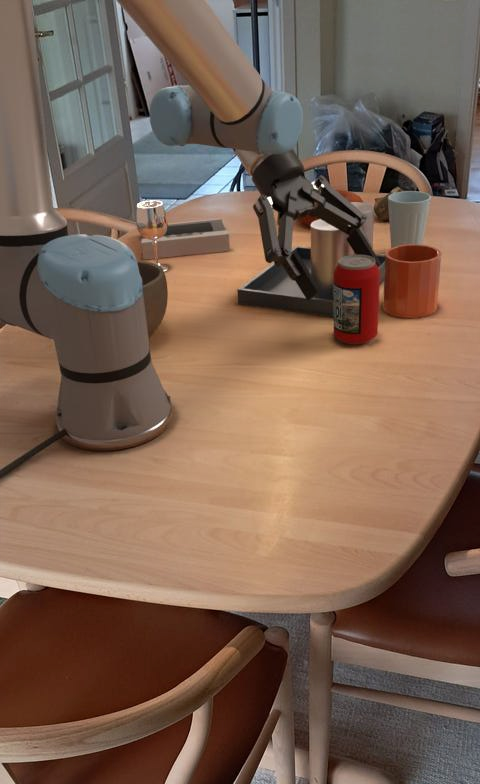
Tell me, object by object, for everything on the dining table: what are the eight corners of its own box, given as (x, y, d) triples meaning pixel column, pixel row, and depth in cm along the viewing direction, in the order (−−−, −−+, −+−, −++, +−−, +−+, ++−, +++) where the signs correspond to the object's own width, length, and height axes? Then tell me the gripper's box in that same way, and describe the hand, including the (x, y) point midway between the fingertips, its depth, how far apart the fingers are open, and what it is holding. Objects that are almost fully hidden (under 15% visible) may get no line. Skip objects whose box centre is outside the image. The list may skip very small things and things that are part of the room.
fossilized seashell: (422, 198, 177) (375, 207, 179) (420, 175, 171) (371, 184, 174) (425, 226, 174) (377, 234, 177) (422, 203, 168) (372, 212, 171)
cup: (435, 255, 155) (439, 197, 149) (400, 263, 153) (403, 205, 147) (412, 244, 161) (415, 188, 155) (378, 252, 159) (380, 195, 153)
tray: (344, 319, 134) (345, 303, 132) (238, 304, 142) (237, 289, 140) (393, 270, 150) (394, 255, 149) (295, 259, 158) (295, 245, 157)
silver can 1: (343, 305, 137) (344, 232, 130) (304, 300, 140) (303, 228, 133) (359, 290, 142) (360, 219, 135) (321, 285, 145) (320, 215, 138)
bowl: (119, 307, 144) (110, 249, 138) (195, 328, 135) (189, 267, 129) (42, 342, 134) (29, 282, 128) (118, 368, 124) (108, 304, 118)
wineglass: (136, 272, 158) (127, 207, 151) (153, 262, 162) (145, 198, 155) (162, 275, 156) (154, 209, 149) (178, 265, 160) (171, 201, 153)
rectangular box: (141, 242, 161) (138, 212, 174) (144, 265, 164) (141, 234, 177) (228, 234, 162) (220, 204, 175) (230, 256, 165) (221, 226, 178)
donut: (378, 216, 177) (379, 192, 174) (336, 235, 168) (336, 210, 165) (323, 206, 185) (322, 183, 182) (280, 224, 176) (279, 200, 174)
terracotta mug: (427, 321, 131) (431, 265, 126) (375, 314, 135) (377, 259, 129) (448, 295, 139) (453, 241, 134) (399, 289, 143) (401, 236, 137)
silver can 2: (363, 286, 143) (365, 215, 136) (325, 282, 146) (325, 212, 139) (377, 272, 148) (379, 203, 141) (340, 268, 151) (341, 200, 144)
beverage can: (325, 335, 129) (325, 258, 122) (362, 325, 131) (364, 249, 124) (347, 350, 124) (348, 272, 117) (386, 340, 126) (389, 262, 119)
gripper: (315, 161, 135) (384, 271, 134) (198, 197, 122) (274, 320, 121) (339, 129, 128) (412, 245, 128) (219, 164, 115) (299, 293, 115)
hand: (345, 282), depth 124 cm, fingers open, 13 cm apart
